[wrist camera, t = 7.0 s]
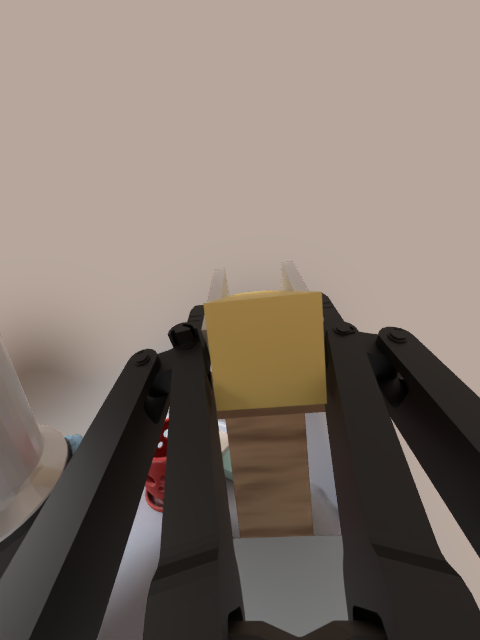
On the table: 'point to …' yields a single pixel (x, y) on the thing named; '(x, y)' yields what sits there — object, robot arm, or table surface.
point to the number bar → (267, 349)
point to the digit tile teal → (227, 466)
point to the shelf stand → (270, 469)
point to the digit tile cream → (224, 442)
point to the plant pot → (157, 474)
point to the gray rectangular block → (292, 581)
